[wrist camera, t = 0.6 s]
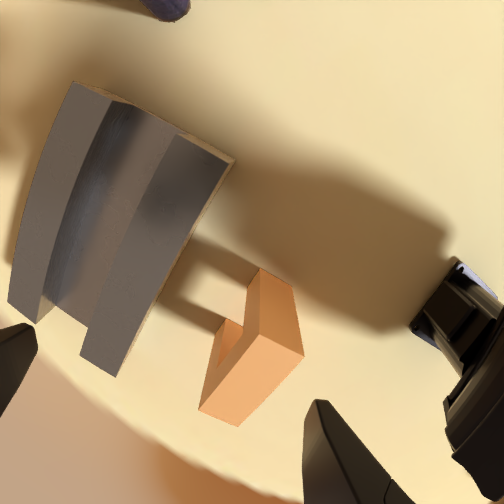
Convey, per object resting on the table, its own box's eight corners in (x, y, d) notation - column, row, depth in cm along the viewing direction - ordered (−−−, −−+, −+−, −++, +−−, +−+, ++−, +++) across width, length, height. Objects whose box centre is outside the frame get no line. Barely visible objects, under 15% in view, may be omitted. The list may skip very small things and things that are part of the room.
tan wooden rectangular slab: (291, 286, 21) (304, 356, 14) (244, 348, 22) (237, 426, 15) (260, 268, 20) (259, 334, 13) (215, 334, 22) (197, 410, 15)
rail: (235, 160, 18) (229, 163, 15) (132, 347, 23) (115, 377, 19) (103, 89, 17) (73, 81, 13) (34, 281, 21) (7, 301, 18)
